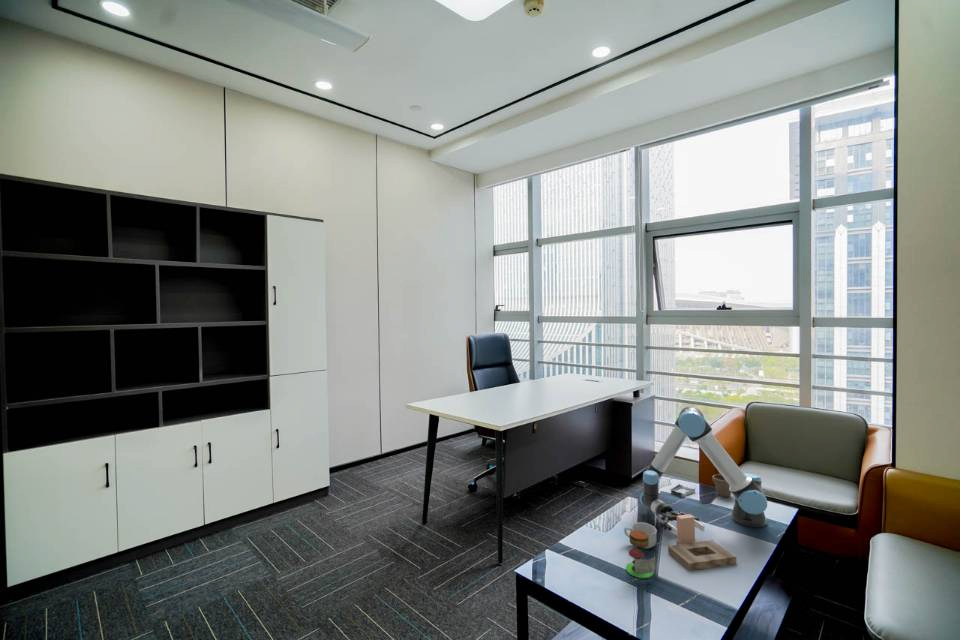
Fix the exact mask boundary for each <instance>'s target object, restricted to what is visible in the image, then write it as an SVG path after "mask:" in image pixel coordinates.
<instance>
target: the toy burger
mask: <svg viewBox="0 0 960 640" xmlns="http://www.w3.org/2000/svg"><path fill="white" fill-rule="evenodd" d="M628 534H629V537H630V538H629V537H628V538H629V543H630V544H631V545H632V546H633V547H632V548H631V549H629V551H628V555H629V557H631V558H632V559H633V560H632V561H631V562H629V563H627V565H626V566H625V569H626V572H627V573H628V574H629V575H630V576H632V577H634V576H635V578H637V577H638V578H637V579H650V578H651V577H653V576H654V572H655V571H656V554H655V553H654V557H652V558H649V559H643V558H644V557H645V554H644V552H643V551H642V550H641V549H640V548H641V547H647V546H648V545H649V540H648V534H647V533H645V532H643V531H638V530H635V531H630V532H629V533H628Z"/></svg>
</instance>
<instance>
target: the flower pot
mask: <svg viewBox="0 0 960 640" xmlns="http://www.w3.org/2000/svg"><path fill="white" fill-rule="evenodd" d="M712 482H713V483H714V485H715V490H716V492H717V496H719V497H723V498H729V497H731V495H732V493H731V491H730V490H729V487H730V485H729V484H728V482H727V481H726V480H725V479H724V477H723V476H722V475H721V474H714V475H712Z"/></svg>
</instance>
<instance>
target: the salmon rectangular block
mask: <svg viewBox="0 0 960 640" xmlns="http://www.w3.org/2000/svg"><path fill="white" fill-rule="evenodd" d="M687 514H688V513H687ZM694 516H695V515H692V514H688V515H679V516H677V521H676V528H677V529H678V535H676V542H677V541H678V542H679V543H680V544H687V543H695V542H696V532H695V531H696V527H695V520H694ZM678 542H677V543H678ZM679 543H678V544H679Z"/></svg>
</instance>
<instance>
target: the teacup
mask: <svg viewBox="0 0 960 640" xmlns="http://www.w3.org/2000/svg"><path fill="white" fill-rule="evenodd" d="M627 530H628V531H630V532H631V531H635V530H638V531H643V532H645V533H647V534H648V540H649V545H648V546H647V547H640V548H641V549H647V550H648V549H651V548H653V547H655V545H656V544H657V532H658V530H657V528H656V527H655V526H654V525H652V524H650V523H647V522H635V523H633V524H631V526H626V527H624V529H623V532H624V534H625V536H626V537H627V538H629V539H630V537H629V534H630V533H627Z"/></svg>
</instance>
